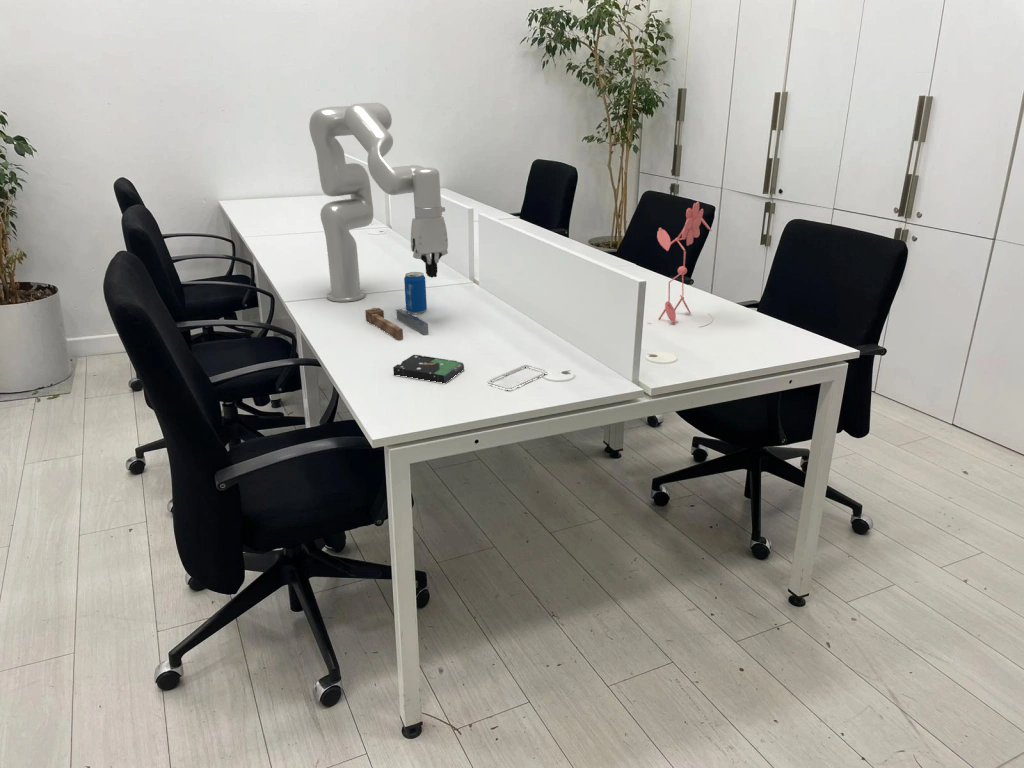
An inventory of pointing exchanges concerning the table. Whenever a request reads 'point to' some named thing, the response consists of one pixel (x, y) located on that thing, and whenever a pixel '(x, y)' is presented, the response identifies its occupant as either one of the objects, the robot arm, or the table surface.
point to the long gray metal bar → (412, 321)
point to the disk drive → (428, 368)
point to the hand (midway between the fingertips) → (431, 276)
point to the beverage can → (415, 292)
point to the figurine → (690, 232)
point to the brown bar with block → (383, 323)
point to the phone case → (514, 371)
